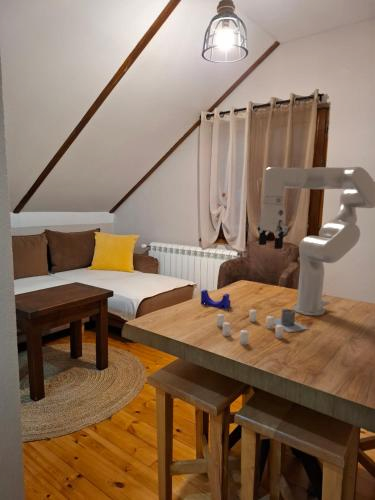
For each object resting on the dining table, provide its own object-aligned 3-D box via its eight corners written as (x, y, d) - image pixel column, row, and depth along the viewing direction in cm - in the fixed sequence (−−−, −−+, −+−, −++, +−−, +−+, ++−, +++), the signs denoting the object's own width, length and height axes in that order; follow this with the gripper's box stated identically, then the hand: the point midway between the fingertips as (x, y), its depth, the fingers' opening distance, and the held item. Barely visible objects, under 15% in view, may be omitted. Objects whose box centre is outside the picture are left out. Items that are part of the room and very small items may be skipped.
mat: (286, 318, 136) (286, 317, 136) (308, 329, 125) (308, 328, 125) (267, 320, 132) (267, 319, 132) (288, 332, 122) (288, 331, 121)
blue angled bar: (230, 306, 148) (230, 293, 147) (225, 309, 145) (226, 295, 144) (205, 301, 155) (206, 288, 154) (200, 304, 151) (201, 291, 150)
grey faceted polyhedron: (288, 321, 132) (289, 308, 131) (296, 325, 128) (297, 312, 127) (278, 322, 130) (279, 310, 129) (285, 327, 126) (286, 313, 125)
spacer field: (257, 318, 135) (258, 308, 134) (289, 337, 118) (290, 326, 117) (210, 325, 127) (211, 314, 126) (237, 346, 110) (237, 334, 109)
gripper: (297, 202, 123) (293, 249, 125) (267, 200, 138) (264, 243, 141) (280, 202, 120) (276, 250, 122) (251, 200, 135) (249, 243, 138)
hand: (270, 246), depth 132 cm, fingers open, 9 cm apart
